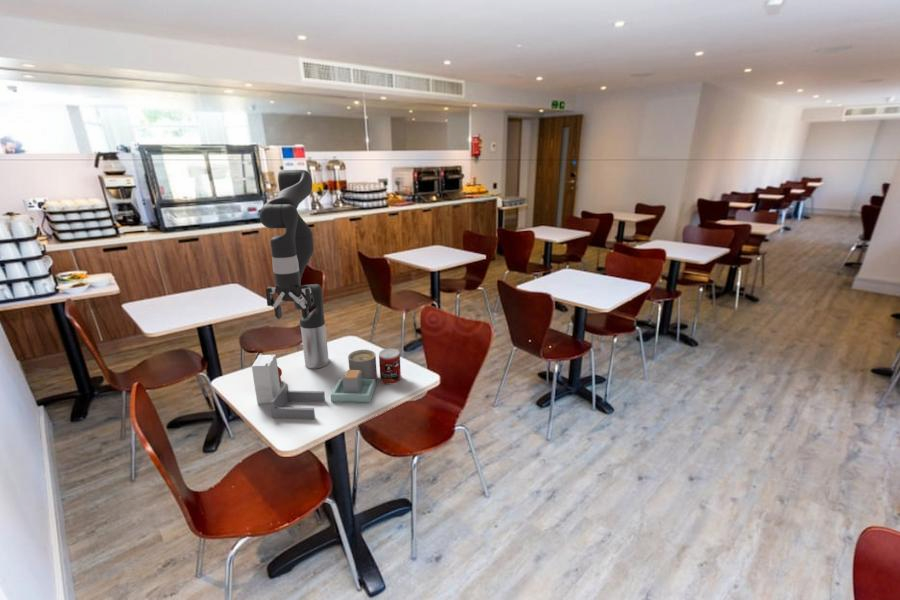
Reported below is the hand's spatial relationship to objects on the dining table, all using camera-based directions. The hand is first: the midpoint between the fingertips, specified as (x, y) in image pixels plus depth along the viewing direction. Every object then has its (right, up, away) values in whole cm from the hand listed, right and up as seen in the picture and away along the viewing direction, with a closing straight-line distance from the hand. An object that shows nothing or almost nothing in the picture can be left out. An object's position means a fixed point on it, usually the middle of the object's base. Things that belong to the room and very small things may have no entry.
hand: (292, 318), depth 136 cm
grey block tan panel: (+17, -27, +13) cm, 34 cm away
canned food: (+29, -24, +23) cm, 44 cm away
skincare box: (-12, -28, +11) cm, 33 cm away
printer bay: (+1, -30, +4) cm, 31 cm away
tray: (+17, -27, +13) cm, 35 cm away
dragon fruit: (-16, -25, +20) cm, 36 cm away
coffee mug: (+18, -24, +24) cm, 38 cm away
